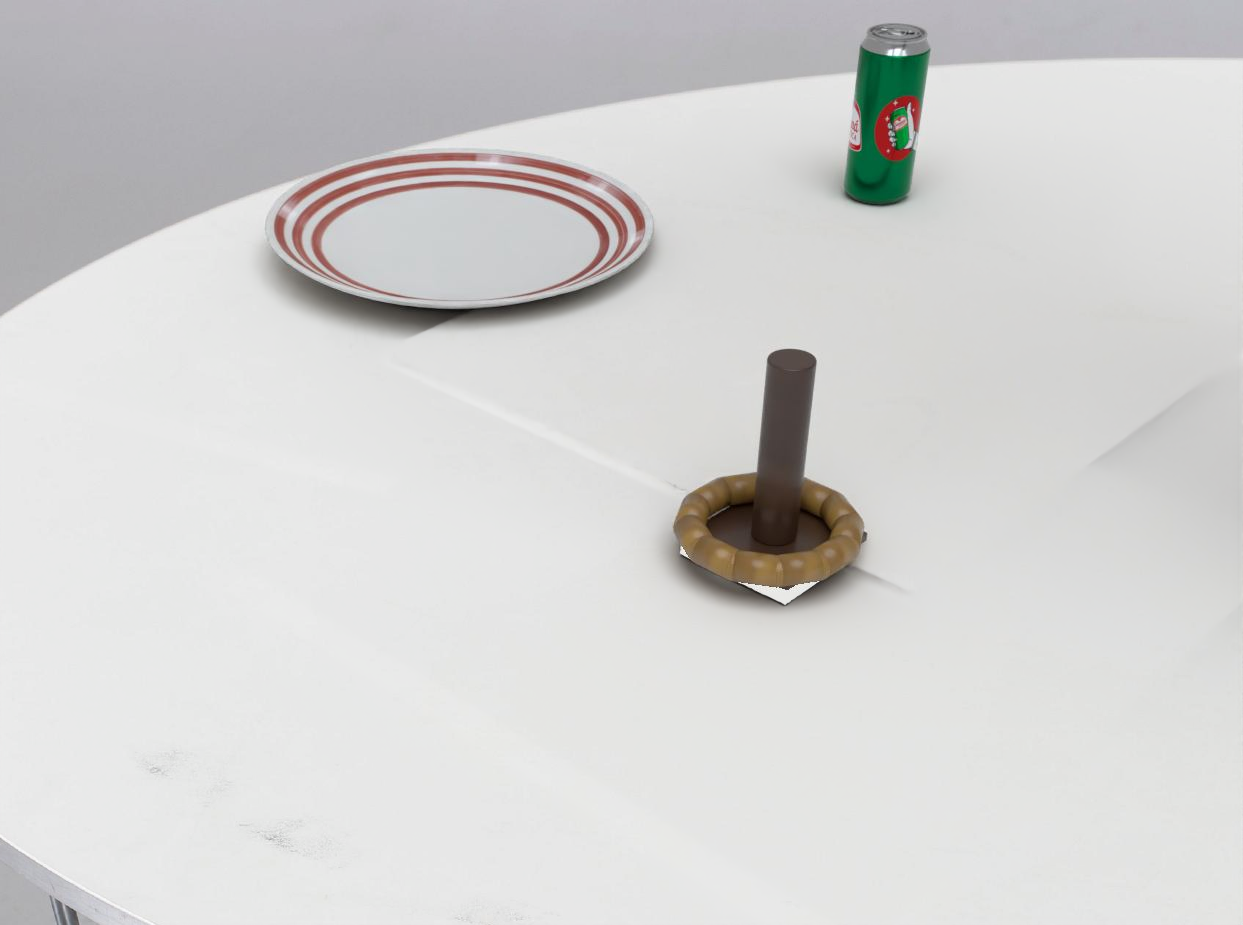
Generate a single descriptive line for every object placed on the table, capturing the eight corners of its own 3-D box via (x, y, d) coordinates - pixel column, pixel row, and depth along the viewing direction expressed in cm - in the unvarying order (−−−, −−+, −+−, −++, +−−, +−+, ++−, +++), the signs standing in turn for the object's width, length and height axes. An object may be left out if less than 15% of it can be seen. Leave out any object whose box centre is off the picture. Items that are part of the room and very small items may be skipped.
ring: (754, 474, 90) (756, 449, 89) (897, 540, 85) (901, 513, 84) (637, 540, 85) (638, 514, 84) (782, 615, 80) (784, 587, 79)
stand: (759, 504, 90) (777, 315, 83) (865, 551, 86) (893, 357, 79) (678, 555, 86) (690, 360, 79) (785, 606, 82) (807, 407, 75)
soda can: (849, 179, 127) (868, 18, 120) (914, 186, 126) (937, 24, 119) (837, 202, 124) (856, 38, 116) (903, 210, 122) (927, 44, 115)
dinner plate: (711, 223, 121) (714, 178, 119) (545, 374, 102) (545, 325, 100) (395, 166, 131) (392, 124, 129) (192, 295, 112) (185, 248, 110)
